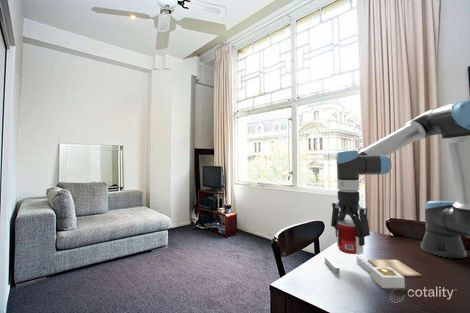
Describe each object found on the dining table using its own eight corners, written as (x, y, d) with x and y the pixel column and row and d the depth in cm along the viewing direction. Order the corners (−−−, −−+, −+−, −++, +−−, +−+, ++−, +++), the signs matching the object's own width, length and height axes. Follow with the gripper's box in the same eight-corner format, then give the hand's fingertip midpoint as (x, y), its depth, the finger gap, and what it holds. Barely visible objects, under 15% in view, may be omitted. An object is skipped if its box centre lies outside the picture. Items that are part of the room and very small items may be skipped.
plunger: (388, 276, 80) (388, 267, 80) (396, 282, 76) (396, 273, 76) (377, 276, 80) (377, 267, 80) (384, 282, 76) (384, 273, 76)
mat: (397, 261, 94) (397, 259, 94) (420, 276, 82) (420, 274, 82) (367, 261, 94) (367, 259, 94) (387, 276, 82) (387, 274, 82)
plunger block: (389, 276, 81) (389, 267, 81) (404, 288, 74) (404, 277, 74) (370, 276, 81) (370, 267, 81) (383, 288, 74) (382, 277, 74)
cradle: (360, 262, 93) (360, 256, 93) (375, 274, 83) (375, 267, 83) (324, 262, 93) (324, 256, 93) (335, 274, 83) (335, 267, 83)
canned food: (366, 253, 85) (365, 223, 85) (348, 255, 83) (347, 225, 83) (351, 245, 93) (350, 218, 93) (334, 247, 91) (333, 220, 91)
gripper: (320, 188, 96) (321, 242, 96) (367, 194, 77) (369, 262, 77) (333, 187, 99) (334, 239, 99) (381, 193, 80) (382, 257, 80)
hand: (349, 249), depth 88 cm, fingers closed on canned food, 8 cm apart
